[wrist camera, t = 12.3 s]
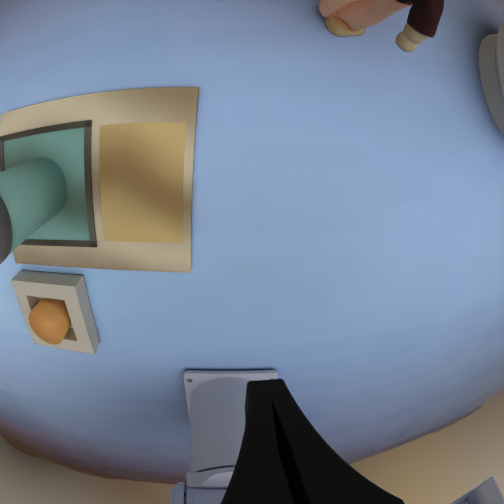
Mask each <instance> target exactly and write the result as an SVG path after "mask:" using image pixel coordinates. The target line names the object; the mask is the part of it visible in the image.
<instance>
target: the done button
mask: <svg viewBox="0 0 504 504" xmlns="http://www.w3.org/2000/svg"><path fill="white" fill-rule="evenodd" d="M28 319H29V324H30V326H31V328H32V330H33V331H34V333H35V334H36V335H37V336H38V337H39V338H40V339H42V340H43V341H45V342H47V343H49V344H54V345H56V344H60V343H61V342H62V341H63V339H64V337H65V335H66V333H67V331H68V330H69V328H70V326H71V324H72V323H71V320H70V317H69V314H68V310H67V307H66V303H65V300H58V299H50V298H41V299H40V300H39V302H38V303H37V304H36V306H35V307H34V308H33V310H32V311H31V312H30V314H29V318H28Z"/></svg>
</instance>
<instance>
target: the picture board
mask: <svg viewBox="0 0 504 504" xmlns="http://www.w3.org/2000/svg"><path fill="white" fill-rule="evenodd" d="M198 96H199V87H162V88H141V89H127V90H117V91H107V92H99V93H92V94H85V95H79V96H73V97H67V98H62V99H57V100H52V101H48V102H43V103H39V104H35V105H31V106H27V107H23V108H20V109H16V110H13V111H10V112H6V113H3V114H1V126H0V172H2V171H5V170H7V169H10V168H12V167H15V166H17V165H20V164H23V163H25V162H28V161H31V160H34V159H37V158H48V159H50V160H52V161H53V162H55V163H56V164H57V165H58V166H59V167H60V169H61V171H62V172H63V175H64V177H65V181H66V187H67V193H66V200H65V203H64V205H63V207H62V209H61V210H60V212H59V213H58V214H57V215H55V216H54V217H53V218H51V219H50V220H49V221H48V222H46V223H45V224H44V225H43V226H41V227H40V228H39V229H38V230H36V231H35V232H34V233H33V234H32V235H30V236H29V237H28V238H27V239H26V240H25V241H23V242H22V243H21V244H20V245H19V246H18V247H17V248H16V249H14V250H13V254H14V258H15V262H16V263H21V264H34V265H48V266H64V267H80V268H97V269H116V270H137V271H160V272H187V273H191V238H192V192H193V168H194V149H195V133H196V120H197V107H198Z"/></svg>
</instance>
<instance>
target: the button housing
mask: <svg viewBox="0 0 504 504" xmlns="http://www.w3.org/2000/svg"><path fill="white" fill-rule="evenodd" d="M11 281H12V284H13V287H14V290H15V293H16V296H17V299H18V302H19V305H20V308H21V311H22V313H23V316H24V319H25V321H26V324H27V326H28V329H29V331H30V334H31V336H32V338H33V341H34V343H35V344H40V345H44V346H49V347H54V348H59V349H65V350H70V351H76V352H83V353H89V354H95V352H96V350H97V347H98V345H99V343H100V339H99V336H98V332H97V329H96V325H95V322H94V318H93V314H92V310H91V306H90V302H89V298H88V294H87V289H86V284H85V280H84V275H79V274H65V273H52V272H39V271H28V270H21V271H20V272H19V273H18V274H17V275H16V276H15V277H14V278H13V279H12V280H11ZM41 298H50V299H58V300H65V303H66V307H67V310H68V314H69V317H70V320H71V323H72V324H71V326H70V328H69V330H68V331H67V333H66V335H65V337H64V339H63V341H62V342H61V343H60V344H56V345H54V344H49V343H47V342H45V341H43V340H42V339H40V338H39V337H38V336H37V335H36V334H35V333H34V331H33V330H32V328H31V326H30V324H29V319H28V318H29V314H30V312H31V311H32V310H33V308H34V307H35V306H36V304H37V303H38V302H39V300H40V299H41Z"/></svg>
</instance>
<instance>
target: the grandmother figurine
mask: <svg viewBox="0 0 504 504" xmlns="http://www.w3.org/2000/svg"><path fill="white" fill-rule="evenodd" d="M411 5H412V7H411V9H410V11H409V15H408V19H407V24H406V25H405V27H404V31H402V32H400V33H399V34H398V35H397V36H396V44H397V46H398V47H399V48H400V49H401V50H403V51H405V52H412V51H414V50H415V49H416V47H417V45H418V43H422V42H423V41H424V40H425V39H426V38H427V37H434V35H435V33H436V30H437V26H438V23H439V20H440V17H441V15H442V12H443V7H444V0H321V1H320V3H319V11H320V13H321V15H322V16H323V17H325V24H326V27H327V29H328V30H329V31H330V32H331V33H332V34H334V35H337V36H340V37H345V36H360V35H362V34H363V33H364V32H365V28H367V27H369V26H372V25H375V24H377V23H379V22H381V21H382V20H384V19H386V18H388V17H389V16H391V15H392V14H394V13H395V12H397V11H399V10H401V9H403V8H405V7H408V6H411Z"/></svg>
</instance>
